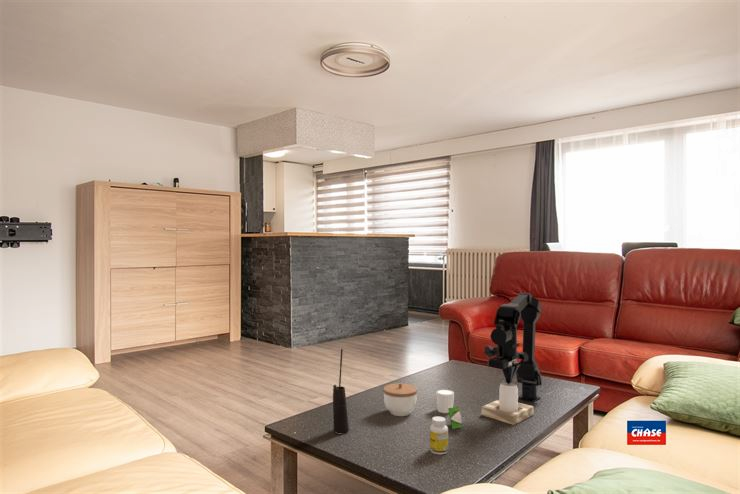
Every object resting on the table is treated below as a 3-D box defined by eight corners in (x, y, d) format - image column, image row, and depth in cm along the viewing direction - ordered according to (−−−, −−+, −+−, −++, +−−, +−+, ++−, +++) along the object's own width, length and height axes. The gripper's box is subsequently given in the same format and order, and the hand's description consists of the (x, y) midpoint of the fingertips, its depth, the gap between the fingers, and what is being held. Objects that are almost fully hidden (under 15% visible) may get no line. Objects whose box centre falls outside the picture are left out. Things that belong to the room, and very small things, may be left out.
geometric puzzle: (438, 416, 161) (446, 403, 157) (455, 414, 164) (462, 400, 159) (447, 435, 156) (455, 421, 151) (464, 431, 158) (472, 418, 154)
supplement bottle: (428, 447, 141) (428, 415, 141) (445, 446, 142) (445, 415, 142) (432, 455, 136) (432, 422, 136) (450, 454, 136) (450, 421, 136)
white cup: (454, 414, 169) (454, 395, 169) (435, 413, 170) (435, 394, 170) (454, 408, 176) (454, 389, 176) (436, 406, 177) (436, 388, 177)
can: (498, 418, 165) (498, 384, 165) (500, 412, 171) (500, 379, 171) (517, 420, 163) (517, 386, 163) (518, 414, 169) (518, 381, 169)
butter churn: (321, 427, 157) (321, 345, 157) (347, 423, 161) (347, 343, 161) (329, 437, 148) (329, 351, 148) (356, 433, 152) (356, 348, 152)
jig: (501, 405, 178) (501, 398, 178) (533, 414, 169) (533, 406, 169) (481, 414, 168) (481, 406, 168) (513, 424, 159) (513, 416, 159)
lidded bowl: (424, 412, 171) (424, 382, 171) (402, 421, 162) (402, 390, 162) (398, 404, 180) (397, 376, 180) (376, 413, 171) (376, 383, 171)
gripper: (502, 334, 179) (502, 374, 179) (475, 340, 167) (475, 383, 167) (529, 338, 171) (529, 379, 171) (502, 345, 159) (502, 390, 159)
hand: (508, 383), depth 167 cm, fingers closed, pressing on can
